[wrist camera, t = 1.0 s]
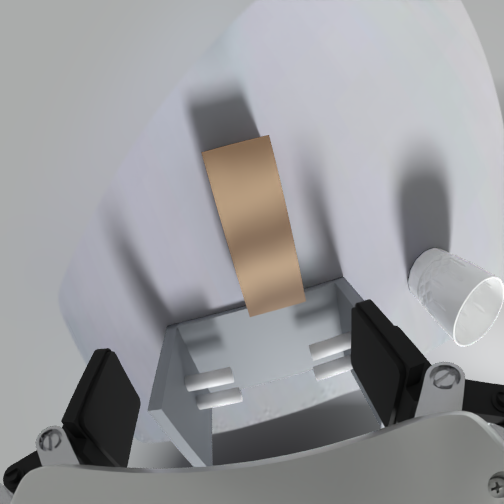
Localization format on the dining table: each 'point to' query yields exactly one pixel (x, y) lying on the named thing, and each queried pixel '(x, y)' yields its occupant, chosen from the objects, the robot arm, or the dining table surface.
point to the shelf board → (256, 223)
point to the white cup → (456, 294)
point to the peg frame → (247, 360)
